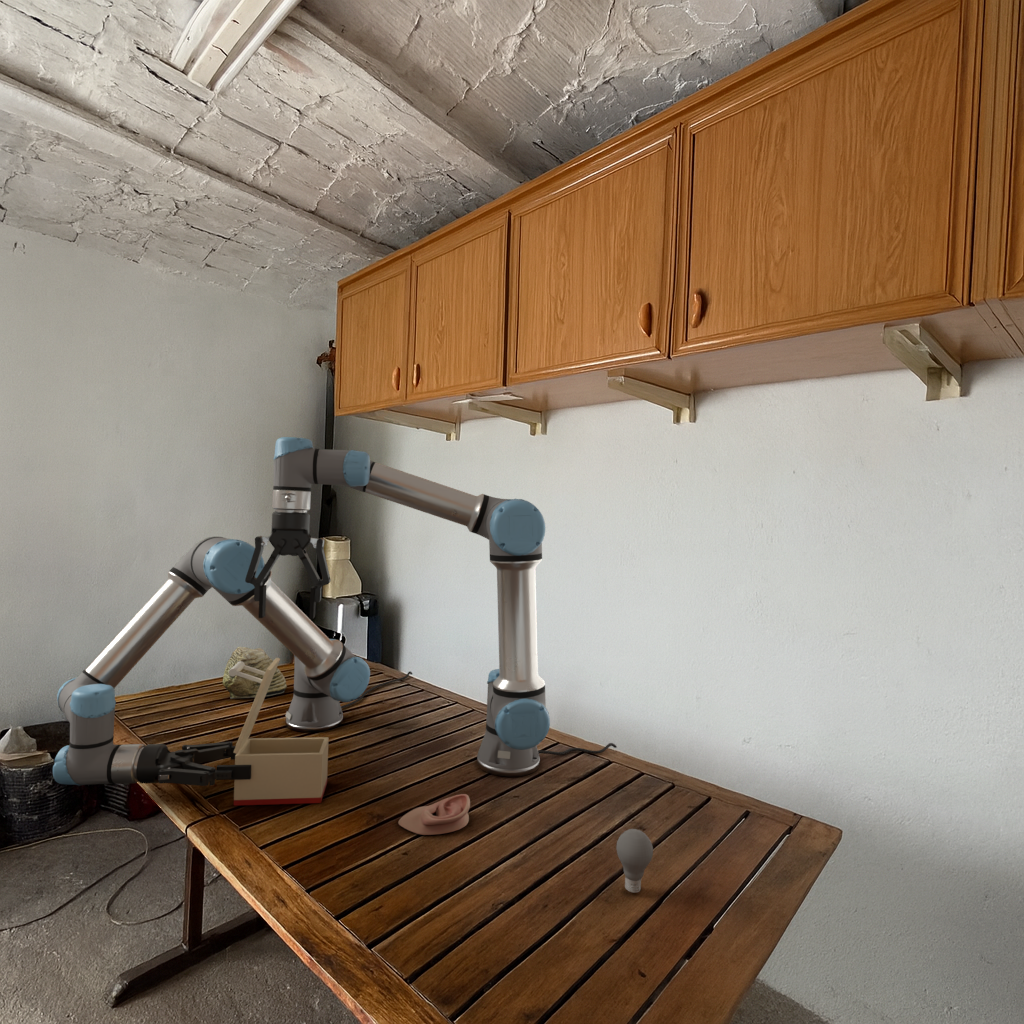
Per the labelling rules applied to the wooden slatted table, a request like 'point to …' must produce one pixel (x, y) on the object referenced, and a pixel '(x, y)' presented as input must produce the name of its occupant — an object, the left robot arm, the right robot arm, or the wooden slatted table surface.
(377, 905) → the wooden slatted table surface
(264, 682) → the lid
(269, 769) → the chest
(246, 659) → the fossil
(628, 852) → the light bulb
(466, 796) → the anatomical model
